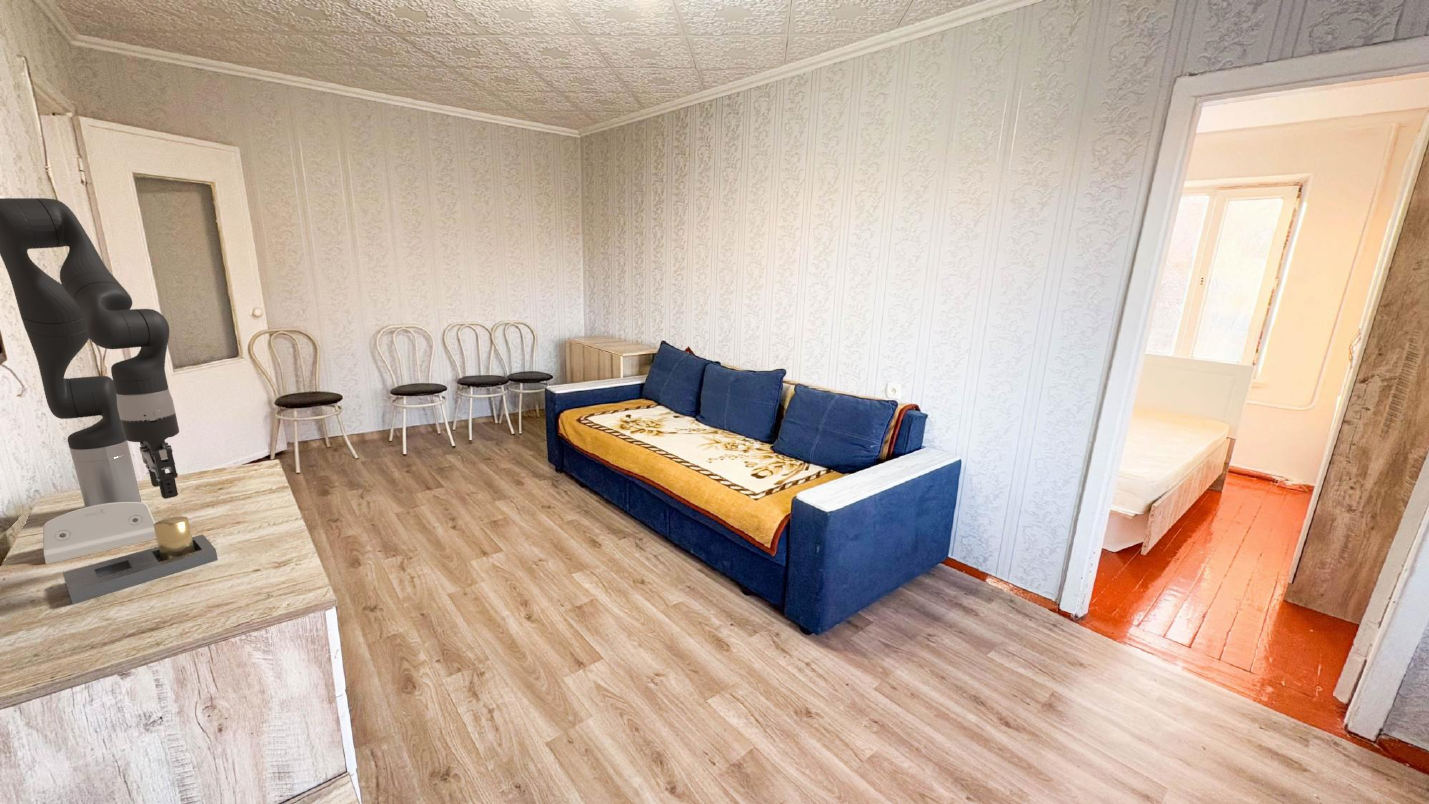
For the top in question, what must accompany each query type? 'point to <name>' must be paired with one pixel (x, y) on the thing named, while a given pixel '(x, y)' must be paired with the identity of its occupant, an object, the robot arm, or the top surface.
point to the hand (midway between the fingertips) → (165, 491)
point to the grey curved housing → (97, 530)
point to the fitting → (173, 537)
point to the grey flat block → (133, 570)
